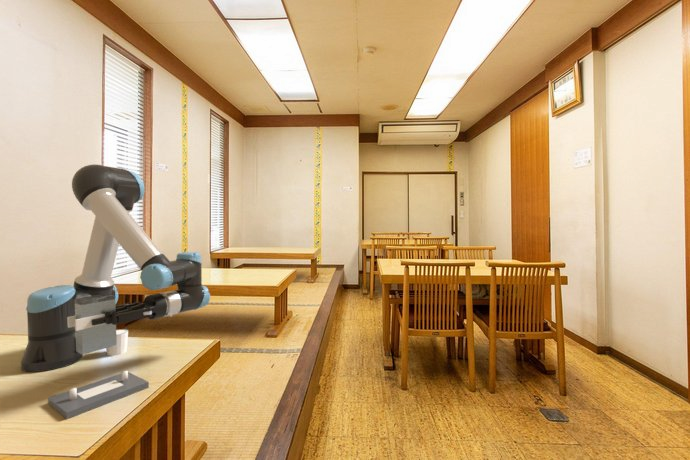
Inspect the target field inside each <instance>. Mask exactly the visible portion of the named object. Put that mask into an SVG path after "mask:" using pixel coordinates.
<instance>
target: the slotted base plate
mask: <svg viewBox="0 0 690 460" xmlns="http://www.w3.org/2000/svg"><path fill="white" fill-rule="evenodd" d="M149 383H150V382H149V381H147V380H146V379H144V378H142V377H140V376H137V375H135V374H133V373H131V372H130V371H128V370H123V371H122V372H120V373H118V374H115V375H112V376H109V377H106V378H104V379H100V380H96V381H94V382H90V383H88V384H86V385H85V384H84V385H83V386H79V387H71V388H70V389H69V390H68V391H64V392H61V393H58V394H56V395H51V396H49V397H48V398H47V404H48V405H49V406H50V407H52V409H54V410H55V411H56V412H57V413H59V414H60V415H61V416H62V417H64V418H65V419H66V420H69V419H71V418H74V417H76V416H79V415H81V414H84V413H86V412H89V411H91V410H94V409H96V408H100V407H102V406H104V405H107V404H110V403H112V402H115V401H118V400H120V399H123V398H126V397H128V396H131V395H132V394H135V393H137V392H140V391H143V390H145V389H149V387H150V385H149Z"/></svg>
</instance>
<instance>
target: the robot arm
mask: <svg viewBox="0 0 690 460" xmlns="http://www.w3.org/2000/svg"><path fill="white" fill-rule="evenodd" d="M71 189H72V192H73V195H74V197H75V198H76V200H77V201H78V203H79V204H80V205H81V206H82V207H83V209H85V210H87V211H91V212H92V213H93V215H94V216H95V217H94V221H93V225H92V229H91V234H90V238H89V242H88V246H87V250H86V255H85V257H84V258H85V259H84V263H83V267H82V270H81V271H82V272H81V274H80V275H77V276H76V277H75V278H74V281H73V285H71V284H70V285H69V284H65V285H64V284H63V285H54V286H49V287H44V288H40V289H37V290H35V291H33V292H31V293H30V294H29V296H28V297H27V298H26V299H27V302H26V303H27V304H26V307H25V309H26V315H27V336H28V337H27V344H26V347H25V350H24V353H23V356H22V358H21V361H20V369H21V370H22V371H24V372H28V373H29V372H31V373H32V372H34V373H35V372H43V371H49V370H50V371H51V370H56V369H60V368H63V367H67V366H70V365H73V364H74V363H76V362H78V361H80V360H81V359H82V358H83V357H84V354H81V353H78V352H76V331H78V330H82V329H87V328H91V327H95V326H100V325H104V324H105V323H106V324H111V323H112V324H113V325H116V326H117V325H119V324H123V323H128V322H133V321H137V320H141V319H149V320H157V319H161V318H163V317H170V318H172V317H173V315H176V314H181V313H185V312H190V311H195V310H196V311H197V310H199V309H201V308H205V307H206V306H207V305H209V303H210V300H211V293H210V290H209V288H208V287H207V286H206V285H203V284H202V281H203V278H202V264H203V263H202V255H201V253H200V252H197V251H188V252H187V251H186V252H185V251H184V252H178V253H177V254H176V259H175V260H169V259H168V257H167V256H166V255H165V253H163V252H162V251H161V249H160V248H159V247H158V246H157V245H156V244H155V242H154V240H152V239H151V238H150V236H149V235H148V234H147V233H146V231H145V230H144V229H143V228H142V227H141V226H140V225H139V223H138V222H137V221H136V220H135V218H134V217H133V216H132V215H131V214H130V212H133V209H134V205H135V204H136V203H139V201H141V200H142V199H143V198H144V196H145V184H144V181H143V180H142V178H141V177H140V175H139V174H137V173H135V171H130V170H127V169H125V168H120V167H114V166H107V165H101V164H87V165H85V166H82V167H81V168H79V169H78V170H76V172H75V173H74V175H73V177H72V180H71ZM119 245H120V247H121V248H122V249H123V250H124V252H125V253H126V254H127V255H128V256H129V257H130V258H131V260H132V261H133V262H134V264H135V265H136V266H137V267H138V268H139V269H140V270H141V272H140V280H141V285H143V287H144V288H146V289H147V290H149V291H157V290H165V289H167V288H170V287H173V286H177V289H175V290H169V291H164V292H160V293H159V292H158V293H154V294H148V295H146V297H145V298H144V300H143V302H141V301H136V302H133V303H131V302H127V303H123V304H119V305H118V304H117V303H118V300H119V291H118V288H117V287H116V285H115V280H114V279H113V278H112V275H113V269H114V265H115V260H116V256H117V252H118V249H119ZM107 293H109V294H114V295H115V307H116V312H115V313H111V314H110V312H106V317H105V314H101V315H96V316H91V317H86V318H81V319H76V320H75V299H76V298H83V297H89V296H95V295H101V294H107Z"/></svg>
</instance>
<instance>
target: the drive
mask: <svg viewBox="0 0 690 460" xmlns="http://www.w3.org/2000/svg"><path fill="white" fill-rule="evenodd" d="M115 306H116V305H115V295H114V294H109V293H107V294H101V295H95V296H89V297H83V298H76V299H75V320H76V319H81V318H86V317H91V316H96V315H101V314H105V317H106V312H110V314H111V313H115V312H116V307H115ZM116 330H117V324H116V325H113V324H112V323H111V324H106V323H105V324H104V325H100V326H95V327H91V328H87V329H82V330H78V331H76V352H78V353H81V354H83V355H86V354H89V353H93V352H96V351H101V350H105V349H106V348H108V347H112V346H115V345H117V342H116Z"/></svg>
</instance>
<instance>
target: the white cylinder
mask: <svg viewBox="0 0 690 460" xmlns="http://www.w3.org/2000/svg"><path fill="white" fill-rule="evenodd" d="M128 337H129V329H121V328H120V329H116V342H117V345H115V346H112V347H108V348H105V349H106V355H107V356H112V357H113V356H119V355H123V354H125V353H127V350H128V340H129V339H128Z"/></svg>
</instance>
